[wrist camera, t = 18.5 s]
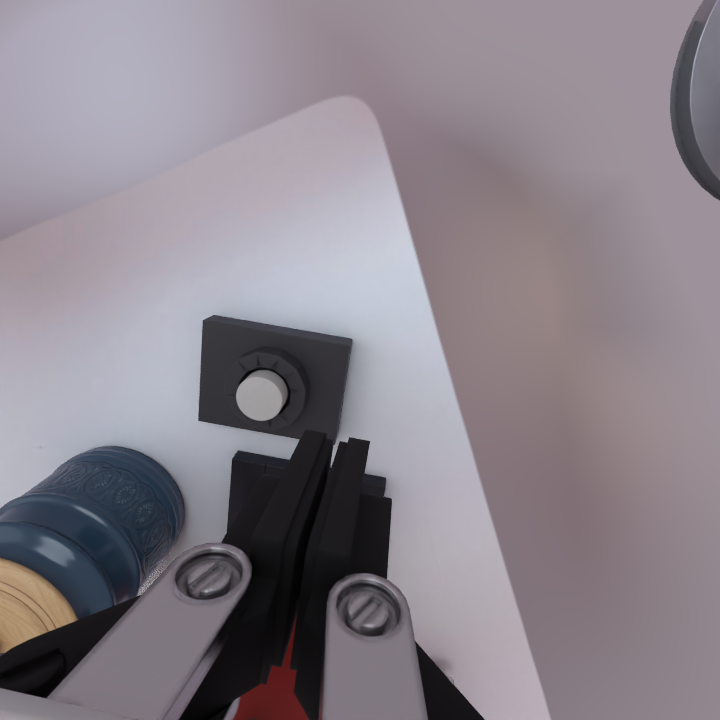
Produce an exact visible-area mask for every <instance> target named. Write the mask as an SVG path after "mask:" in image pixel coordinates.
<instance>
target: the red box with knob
mask: <svg viewBox="0 0 720 720" xmlns="http://www.w3.org/2000/svg"><path fill="white" fill-rule="evenodd" d="M296 619H297V617H296ZM295 626H296V620H295V624H294V627H293V631H292V634H291V638H290V641H289V645H288V648H287V652H286V655H285V659H284V662H283V665H282V667H277V666H272V668H271V671H270V674H269V678H268V681H267V684H266V685H265V684H261V683H260V685H258V686H257V687H255V688H253V689H252V690H250V691H249V692H247V693H245V694H244V695H242V696H241V698H240V703H239V706H238V709H237V712H236V714H235V716H234V718H233V720H308V717H307V715H306V713H305V711H304V710H303V708H302V706H301V704H300V703H299V701H298V699H297V697H296V696H295V694H294V685H295V679H296V672H297V671H295V670H290V663H291V655H292V648H293V641H294V633H295Z"/></svg>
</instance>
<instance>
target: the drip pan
mask: <svg viewBox="0 0 720 720" xmlns="http://www.w3.org/2000/svg"><path fill="white" fill-rule="evenodd" d="M289 461H290V460H286V459H280V458H275V457H270V456H264V455H259V454H254V453H248V452H243V451H238V452H237V453H236V454H235V456H234V457H233V459H232V471H231V485H230V498H229V512H228V525H227V532H228V530H229V529H230V527H231V525H232V523H233V522H234V520H235V518H236V517H237V515H238V513H239V511H240V510H241V508H242V506H243V505H244V503H245V501H246V499H247V498H248V496H249V494H250V493H251V491H252V489H253V487H254V486H255V484H256V482H257V481H258V479H259V477H260V476H261V475H262V474H269V475H274V476H279V477H282V475H283V473H284V471H285V469H286V467H287V465H288V463H289ZM330 471H331V468H330ZM330 471H329V474H330ZM385 486H386V478H384V477H379V476H373V475H368V474H364V478H363V484H362V489H361V493H366V494H371V495H376V496H381V497H384V492H385Z"/></svg>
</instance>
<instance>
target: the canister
mask: <svg viewBox="0 0 720 720" xmlns="http://www.w3.org/2000/svg"><path fill="white" fill-rule="evenodd" d="M183 520H184V505H183V500H182V497H181V494H180V492H179V489H178V487H177V486H176V484H175V482H174V481H173V479H172V478H171V477H170V475H169V474H168V473H167V472H166V471H165V470H164V469H163V468H162V467H161V466H160V465H158V464H157V463H156V462H154V461H153V460H152V459H150V458H148V457H147V456H145V455H143V454H141V453H138V452H136V451H133V450H130V449H126V448H121V447H99V448H95V449H92V450H89V451H87V452H85V453H82V454H79V455H77V456H75V457H73V458H71V459H69V460H68V461H67V462H65V463H64V464H62V465H61V466H59V467H58V468H57V469H56V470H55V471H54V472H53V474H52V475H50V476H49V477H47V478H46V479H45V480H43V481H42V482H40V483H39V484H38V485H36V486H35V487H33V488H32V489H31V490H29V491H28V492H26V493H25V494H24V495H22V496H21V497H18V498H16V499H14V500H12V501H10V502H8V503H7V504H5V505H4V506H3V507H1V508H0V653H6V652H7V651H8V650H10V649H11V648H13V647H15V646H17V645H19V644H21V643H23V642H25V641H27V640H29V639H31V638H34V637H36V636H39V635H41V634H44V633H46V632H49V631H51V630H54V629H57V628H59V627H62V626H64V625H67V624H69V623H72V622H74V621H77V620H79V619H82V618H84V617H87V616H89V615H92V614H94V613H97V612H99V611H102V610H104V609H107V608H109V607H112V606H114V605H117V604H120V603H122V602H125V601H127V600H130V599H132V598H135V597H137V594H138V592H139V590H140V589H141V587H142V586H143V585H144V583H145V582H146V580H147V579H148V578H149V576H150V575H151V573H152V572H153V571H154V569H155V568H156V566H157V565H158V563H159V562H160V561H161V560H163V559H164V558H165V557H166V555H167V554H168V553H169V551H170V550H171V548H172V547H173V545H174V544H175V542H176V540H177V538H178V535H179V532H180V530H181V527H182V524H183Z"/></svg>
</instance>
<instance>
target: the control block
mask: <svg viewBox="0 0 720 720" xmlns="http://www.w3.org/2000/svg"><path fill="white" fill-rule="evenodd" d="M351 346H352V339H349V338H344V337H338V336H332V335H326V334H320V333H315V332H309V331H303V330H297V329H291V328H286V327H280V326H274V325H268V324H262V323H257V322H251V321H245V320H239V319H233V318H228V317H222V316H216V315H213V316H211V317H209V318H207V319H205V320H203V329H202V352H201V374H200V396H199V419H198V420H199V421H203V422H208V423H214V424H219V425H225V426H230V427H236V428H241V429H247V430H252V431H258V432H263V433H269V434H274V435H280V436H286V437H291V438H297V439H301V437H302V435H303V433H304V431H305V429H308V430H313V431H319V432H324V433H327V438H326V439H331V440H334V443H333V445H335V442H336V439H337V435H338V430H339V424H340V417H341V411H342V404H343V398H344V392H345V385H346V379H347V372H348V366H349V359H350V353H351ZM258 370H269V371H272V372H274V373H276V374H278V375H279V376H280V377H281V378H282V379H283V380H284V382H285V384H286V386H287V390H288V396H287V400H286V402H285V404H284V405H283V407H282V409H281V410H280V412H279V413H278V414H277V415H276V416H275V417H273V418H272V419H269V420H265V421H258V420H254V419H251V418H249V417H248V416H246V415H245V414H244V413H243V412H242V411H241V410H240V408H239V406H238V404H237V400H236V393H237V389H238V387H239V385H240V384H241V383H242V382H243V381H244V380H245V379H246V378H247V377H248V376H249V375H250V374H251V373H253V372H255V371H258Z"/></svg>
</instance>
